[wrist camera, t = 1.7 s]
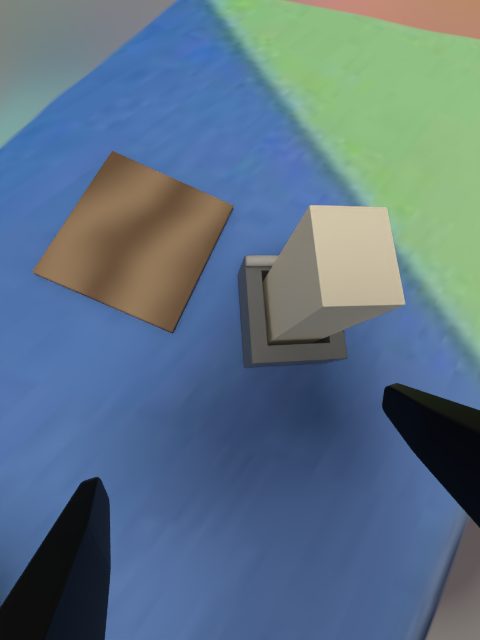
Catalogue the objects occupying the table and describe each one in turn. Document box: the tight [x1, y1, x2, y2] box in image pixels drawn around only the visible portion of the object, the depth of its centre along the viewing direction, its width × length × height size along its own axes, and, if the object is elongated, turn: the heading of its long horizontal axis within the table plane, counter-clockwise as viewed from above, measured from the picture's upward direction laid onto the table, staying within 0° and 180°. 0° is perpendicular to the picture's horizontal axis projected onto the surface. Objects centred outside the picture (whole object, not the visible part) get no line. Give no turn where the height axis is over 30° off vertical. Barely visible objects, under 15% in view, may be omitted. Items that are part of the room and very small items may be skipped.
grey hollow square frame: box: [238, 255, 348, 367], centre depth 24 cm, size 8×7×5 cm
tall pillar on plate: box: [262, 205, 405, 346], centre depth 20 cm, size 5×4×13 cm
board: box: [33, 151, 233, 333], centre depth 26 cm, size 12×13×1 cm
